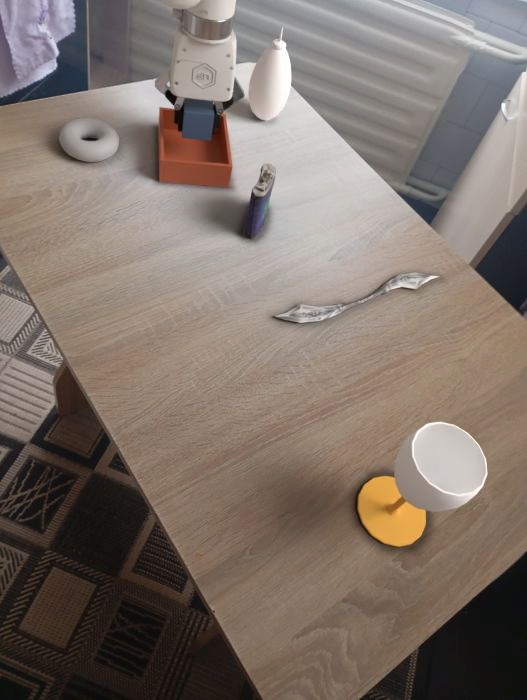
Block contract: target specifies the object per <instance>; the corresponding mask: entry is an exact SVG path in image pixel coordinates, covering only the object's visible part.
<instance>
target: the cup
mask: <svg viewBox="0 0 527 700" xmlns="http://www.w3.org/2000/svg"><path fill="white" fill-rule="evenodd" d="M393 466H394V467H393V468H394V471H393V472H394V474H393V475H394V476H389V475H382V476H375V477H373V478H371V479H369V480H368V482H366V483H364V484H363V486H362V488H361V489H360V491H359V493H358V494H357V508H356V509H357V513H358V516H359V519H360V521H361V525H363V527H364V528H365V529H366V531H367V532H368V533H369V535H370V537H371V536H372V537H373V538H375V539H376V540H378V541H379V542H380V543H382V544H383V545H388V546H391V547H396V548H400V547H405V546H409V545H412V544H414V543H415V541H417V540H418V539H419V538H420V537H422V534H423V533H424V530H425V527H426V525H427V522H426V521H427V516H426V515H427V511H428V512H431V513H438V512H443V511H448V510H449V511H450V510H453V509H457V508H459V507H461V506H463V505H465V504H467V503H468V502H470V500H472V499H473V498H474V497H475V496H476V495H478V493H479V492H480V491H481V489H482V488H483V487H484V484H485V482H486V479H487V476H488V465H487V458H486V456H485V454H484V451H483V450H482V448H481V446H480V444H479V443H478V442H477V441H476V440H475V439H474V438H473V437H472V435H471V434H470V433H469V432H467V431H466V430H464V429H463V428H460V427H459V426H457V425H456V424H452V423H448V422H444V421H435V422H428V423H425V424H423V425H422V426H420V427H419V428H418V429H416V430H415V431H414V432H412V433H411V434H409V435H408V436H407V437H406V439H405V440H404V442H403V443H402V445H401V446H400V449H399V451H398V452H397V455H396V457H395V461H394V465H393Z"/></svg>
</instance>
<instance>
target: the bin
mask: <svg viewBox="0 0 527 700" xmlns="http://www.w3.org/2000/svg"><path fill="white" fill-rule="evenodd" d="M174 110H175V109H174V108H172V107H162V106H160V107H159V109H158V127H157V128H158V129H157V130H158V131H157V132H158V182H159V183H172V184H182V185H184V184H185V185H196V186H207V187H219V188H221V187H222V188H229V187H230V184H231V183H230V182H231V177H232V171H233V160H232V151H231V145H230V138H229V137H230V136H229V129H228V121H227V115H226V114H225V113H223V114H222V115H221V118H220V125H219V128H216V129H215V135H212V136H211V141H207V140H197V139H187V138H182V131H181V132H179V131H178V124H174Z"/></svg>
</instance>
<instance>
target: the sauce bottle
mask: <svg viewBox="0 0 527 700" xmlns="http://www.w3.org/2000/svg"><path fill="white" fill-rule="evenodd" d="M283 33H284V27H283V26H282V27H281V29H280V32H279V36H278V38H275V39H273V40H272V41H271V45H269V46H268V47H266V49H264V50H263V52H262V54H261V55H260V56H259V58H258V59H257V61H256V63H255V65H254V67H253V70H252V72H251V75H250V78H249V84H248V90H247V91H248V92H247V96H248V104H249V107H250V109H251V112H252V114H254V115H255V117H257V118H258V119H259V120H262V121H270V120H272V119H274V118H276V117H278V115H279V114H280V113H281V112H282V111H283V109H284V107H285V106H286V105H287V102H288V99H289V97H290V93H291V86H292V65H291V60H290V59H291V58H290V55H289V52H288V50H287V48H286V47H287V43H286V41H284V40H283Z"/></svg>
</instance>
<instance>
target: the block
mask: <svg viewBox="0 0 527 700" xmlns="http://www.w3.org/2000/svg"><path fill="white" fill-rule="evenodd" d="M213 104H214V101H206V100H198V99H189V98H185V100H184V102H183V110H184V113H183V125H182V138H187V139H197V140H207V141H211V136H212V128H213V121H214V109H213Z"/></svg>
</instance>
